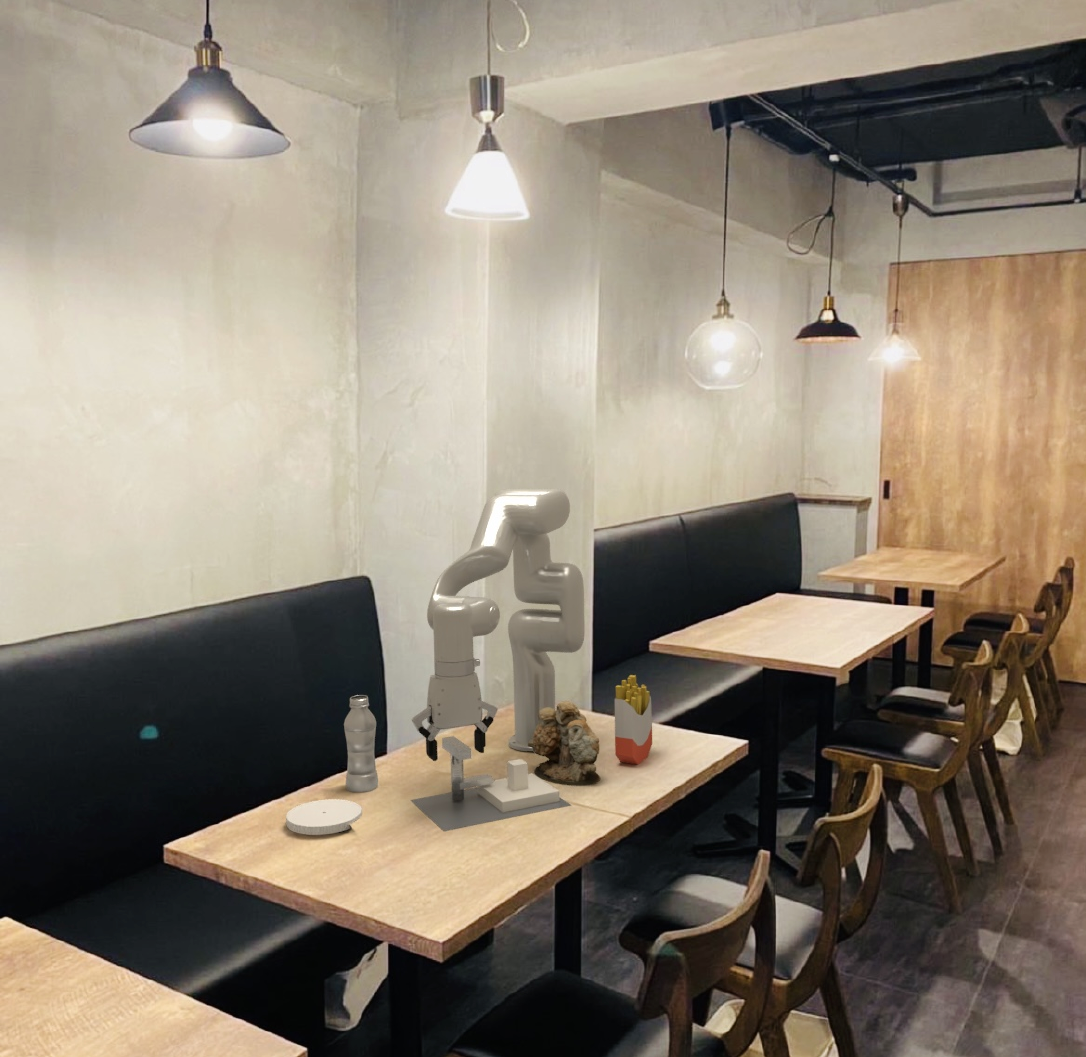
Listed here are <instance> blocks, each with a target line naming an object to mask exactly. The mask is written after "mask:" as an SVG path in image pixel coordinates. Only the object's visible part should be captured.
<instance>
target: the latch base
mask: <svg viewBox="0 0 1086 1057" xmlns="http://www.w3.org/2000/svg"><path fill="white" fill-rule="evenodd" d="M559 798H560V801H558V802H553V803H548V804H543V805H538V806H533V807H528V808H523V809H518V810H513V811H508V812H501V811H500V810H499V809H498V808H496V807H495V806H494V805H492V804H491V803H490V802H489V801H487V800H486V799H485V798H483V797H482V796H481V795H480V794H478V786H477V787H471V788H466V789H464V800H463V801H453V800H452V791H451V792H446V793H445V792H444V793H440V794H435V795H431V796H426V797H419V798H413V799H410V801H411V803H412V804H414V806H415V807H417V808H418V809H419V810H421V812H422V813H423V814H424V815H425V816H426V817H428V818H429V819H430V820H431V821H432V822H433V823H434V824H436V825H437V826H438V828H439V829H440V830H442V831H443V832H448V831H453V830H457V829H464V828H468V827H473V826H478V825H483V824H487V823H493V822H496V821H501V820H506V819H511V818H516V817H517V818H518V817H521V816H527V815H530V814H536V813H540V812H541V813H542V812H547V811H552V810H555V809H560V808H565V807H572V805H571V803H569V802H567V801H566V800H565V799H564V798H561V797H560V796H559Z"/></svg>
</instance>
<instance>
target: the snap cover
mask: <svg viewBox="0 0 1086 1057" xmlns="http://www.w3.org/2000/svg"><path fill="white" fill-rule="evenodd" d="M506 766H507V767H506V768H507V769H506V772H507V777H504V778H498V779H495V780H494V779H493V784H487V785H482V786H477V787H478V794H480V795H481V796H482V797H483V798H485V799H486V800H487V801H489V802H490V803H491V804H492V805H494V806H495V807H496V808H498V809H499V810H500V811H501V812H508V811H513V810H518V809H523V808H528V807H533V806H538V805H543V804H548V803H553V802H558V801H560V798H561V797H560V790H558V789H557V788H555V787H554V786H552V785H551V784H550V783H549V782H548V783H547V781H545V780H542V779H540V778H539V777H537V776H536V775H535V774H534V772H533V773H532V772H531V773H529V771H528V770H529V768H528V766H529V765H528V762H527V761H525V760H523V759H522V758H518V759H513V760H508V761H507V762H506ZM559 797H560V798H559Z"/></svg>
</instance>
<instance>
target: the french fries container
mask: <svg viewBox="0 0 1086 1057" xmlns="http://www.w3.org/2000/svg"><path fill="white" fill-rule="evenodd" d="M640 686H641V687H639V684H638V683H637V675H636V674H634V675H633V674H630V675H629V676H628V677H627V680H626V679H623V680H621V685H619V684H618V685H616V686H615V698H614V746H615V747H614V752H615V753H614V754H615V756H616V757H617V759H618V760H619V762H620V763H625V764H632V765H640V764H641V763H642V762H643V761H645V760H646V759H648V757H649V754H650V752H651V749H652V745H653V718H652V713H653V712H652V697H651V695H650V691H649V690H647V688H648V686H646V685H645V684H641V685H640Z"/></svg>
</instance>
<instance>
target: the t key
mask: <svg viewBox="0 0 1086 1057" xmlns="http://www.w3.org/2000/svg"><path fill="white" fill-rule="evenodd" d="M441 743H442V744H441V746H442V749H444V751H446V752H447V753H449V754H450V775H451V777H450V779H451V780H450V782H451V783H450V785H451V792H452V800H453V801H463V800H464V790H467V789H472V788H477V787H478V786H482V785H487V784H493V780H494V777H493V776H491V774H489V773H486V774H485V773H484V774H482V775H474V776H469V777H465V776H464V775H465V774H464V761H466V760H470V759H472V747H470V746H469V745H467V744H466V743H464V742H462V741H461V740H460V739H458V738H457V737H456V736H454V735H451V736H447V737H442V738H441Z"/></svg>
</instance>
